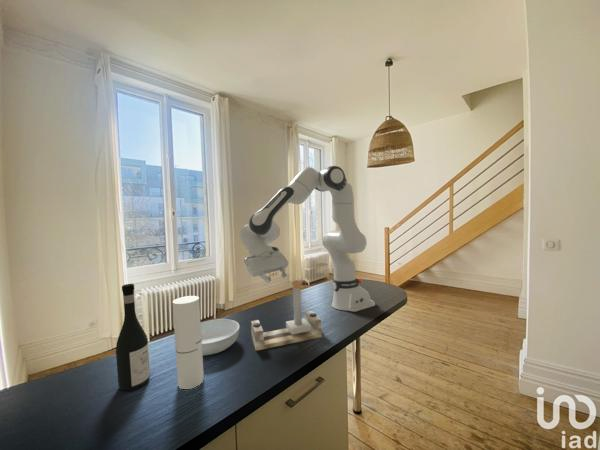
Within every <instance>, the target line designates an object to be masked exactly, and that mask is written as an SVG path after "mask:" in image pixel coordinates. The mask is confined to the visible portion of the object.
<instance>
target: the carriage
mask: <svg viewBox="0 0 600 450" xmlns="http://www.w3.org/2000/svg"><path fill="white" fill-rule="evenodd" d="M291 286H292V296H293V297H292V298H293V300H292V301H293V320H287V321H285V328H288V330H289V331H290V333H291V334H297V333H302V332H307V331H311V325H310V324H309V323H308V322H307V321H306V319H305V317H304V318H303V315H302V295H301V287H302V283H301V281H299V280H293V281H292V283H291Z"/></svg>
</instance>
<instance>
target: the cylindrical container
mask: <svg viewBox="0 0 600 450" xmlns="http://www.w3.org/2000/svg"><path fill="white" fill-rule="evenodd" d="M200 305H201V304H200V297H199V296H198V295H185V296H182V297H181V296H180V297H178V298H176V299H173V300H172V312H173V313H172V314H173V328H174V329H173V330H174V332H173V333H174V343H175V344H174V345H175V346H174V347H175V360H176V363H175V364H176V376H177V386H179V388H182V389H191V388H194V387H196V386H198V385H199V386H201V385H202V384H203V383H204V381H203V380H204V379H205V377H204V376H205V375H204V359H203V358H204V357H203V356H204V355H202V339H201V322H202V321H201V308H200ZM201 383H202V384H201ZM200 384H201V385H200ZM199 386H198V387H199ZM179 388H178V389H179ZM196 388H197V387H196ZM194 389H195V388H194ZM191 390H192V389H191Z"/></svg>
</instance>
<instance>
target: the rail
mask: <svg viewBox="0 0 600 450" xmlns="http://www.w3.org/2000/svg"><path fill="white" fill-rule="evenodd" d="M304 314H305V315H304V319H305V320H306V321H307V322H308V323H309V324H310V325H311V331H307V332H302V333H297V334H291V333H290V331H289V330H288V328H287V327H284V328H280V329H276V330H271V331H270V330H269V331H264V329H263V326H262V325H261V323H260V320H259V319H254V320H250V328H251V329H250V330H251V331H250V334H251V340H252V344H253V346H254V349H255V352H256V351H261V350H262V351H263V350H266V349H271V348H276V347H281V346H286V345H289V344H295V343H299V342H305V341H309V340H312V339H313V340H314V339H318V338H322V337H323V335H322V330H323V329H322V319H321V318H320V317H319V316H318V315H317V313H315V312H314V311H313V310H308V311H305V312H304Z"/></svg>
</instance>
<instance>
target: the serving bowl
mask: <svg viewBox="0 0 600 450" xmlns="http://www.w3.org/2000/svg"><path fill="white" fill-rule="evenodd" d="M239 334H240V324H239V322H238V321H236V320H233V319H230V318H229V319H227V318H215V319H211V320H209V319H208V320H205V321H201V339H202V355H203V356H210V355H215V354H218V353H221V352H223V351H225V350H227V349H228V348H230V347H231V346H232V345H233V344H234V343H235V342H236V341H237V339H238V337H239Z"/></svg>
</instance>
